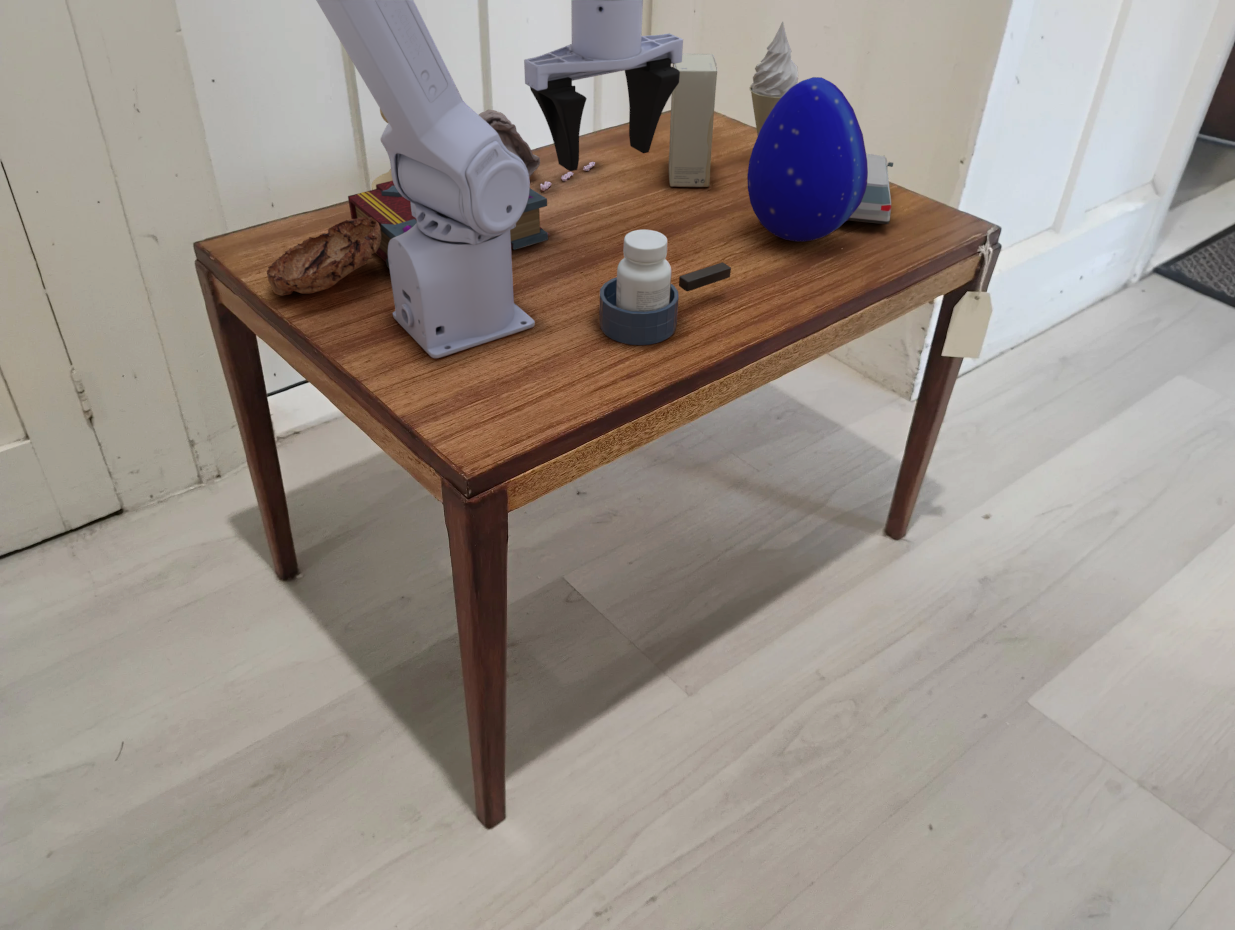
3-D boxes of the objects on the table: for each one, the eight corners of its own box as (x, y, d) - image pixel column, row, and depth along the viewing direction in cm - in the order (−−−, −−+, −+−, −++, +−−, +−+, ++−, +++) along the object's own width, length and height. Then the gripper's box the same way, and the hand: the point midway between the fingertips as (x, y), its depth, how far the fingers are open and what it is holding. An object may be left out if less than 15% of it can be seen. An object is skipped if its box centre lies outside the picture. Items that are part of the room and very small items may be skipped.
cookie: (373, 205, 87) (389, 234, 89) (266, 254, 87) (284, 283, 88) (376, 233, 79) (394, 265, 80) (258, 288, 78) (278, 319, 80)
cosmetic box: (709, 189, 103) (719, 71, 95) (667, 187, 103) (674, 70, 95) (705, 165, 108) (715, 52, 100) (666, 164, 108) (672, 51, 100)
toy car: (883, 179, 105) (894, 135, 102) (889, 236, 96) (901, 189, 92) (830, 174, 106) (839, 130, 102) (831, 230, 96) (840, 183, 93)
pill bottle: (678, 321, 81) (684, 236, 76) (647, 343, 78) (652, 257, 73) (636, 304, 83) (639, 221, 78) (605, 325, 80) (606, 240, 75)
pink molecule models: (506, 212, 97) (506, 207, 97) (492, 204, 98) (492, 198, 98) (601, 168, 107) (602, 163, 106) (588, 161, 107) (588, 156, 107)
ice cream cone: (784, 172, 107) (804, 30, 97) (739, 168, 107) (754, 25, 98) (787, 155, 111) (807, 16, 101) (743, 151, 111) (759, 12, 102)
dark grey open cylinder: (628, 353, 78) (629, 321, 76) (584, 318, 82) (584, 286, 80) (691, 330, 81) (694, 299, 79) (646, 297, 85) (647, 267, 83)
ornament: (867, 240, 94) (900, 83, 84) (810, 270, 89) (838, 107, 79) (779, 203, 100) (800, 53, 90) (721, 229, 95) (736, 73, 85)
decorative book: (351, 238, 92) (343, 188, 89) (497, 198, 99) (494, 151, 96) (406, 287, 85) (399, 234, 82) (558, 240, 92) (557, 190, 89)
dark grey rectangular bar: (686, 292, 82) (687, 281, 81) (678, 286, 82) (679, 275, 82) (730, 277, 84) (731, 267, 83) (721, 272, 85) (722, 261, 84)
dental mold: (455, 127, 98) (445, 120, 102) (472, 194, 101) (461, 184, 105) (529, 108, 100) (516, 102, 104) (543, 174, 103) (530, 165, 107)
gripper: (651, -31, 82) (644, 127, 91) (502, -10, 75) (510, 159, 84) (702, -12, 77) (690, 152, 86) (549, 12, 71) (552, 187, 80)
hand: (604, 157), depth 85 cm, fingers open, 7 cm apart
